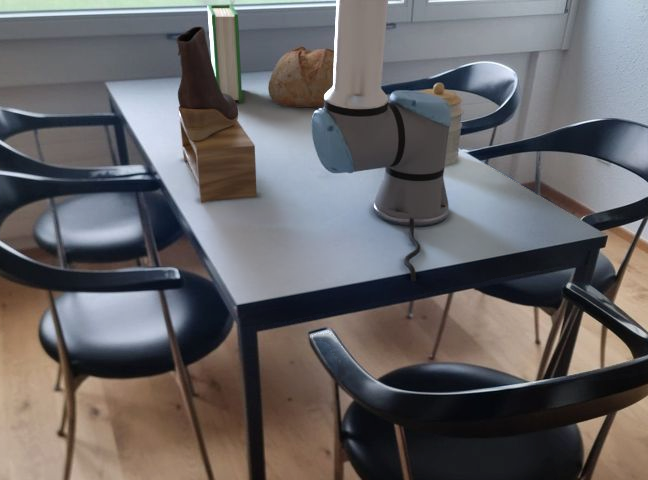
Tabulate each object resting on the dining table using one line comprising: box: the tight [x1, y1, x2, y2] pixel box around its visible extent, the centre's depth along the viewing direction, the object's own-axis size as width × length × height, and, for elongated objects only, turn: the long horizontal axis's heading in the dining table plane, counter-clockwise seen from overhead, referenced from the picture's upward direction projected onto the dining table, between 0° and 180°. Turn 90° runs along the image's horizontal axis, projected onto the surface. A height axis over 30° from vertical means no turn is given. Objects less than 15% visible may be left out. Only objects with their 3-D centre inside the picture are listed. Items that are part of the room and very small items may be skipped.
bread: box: [267, 46, 335, 108], centre depth 208 cm, size 26×23×15 cm
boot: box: [175, 26, 239, 142], centre depth 145 cm, size 9×24×20 cm, turn 169°
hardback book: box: [206, 4, 243, 104], centre depth 208 cm, size 18×7×24 cm, turn 12°
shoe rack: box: [178, 111, 258, 203], centre depth 155 cm, size 28×12×11 cm, turn 17°
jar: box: [420, 82, 465, 166], centre depth 165 cm, size 13×13×18 cm
